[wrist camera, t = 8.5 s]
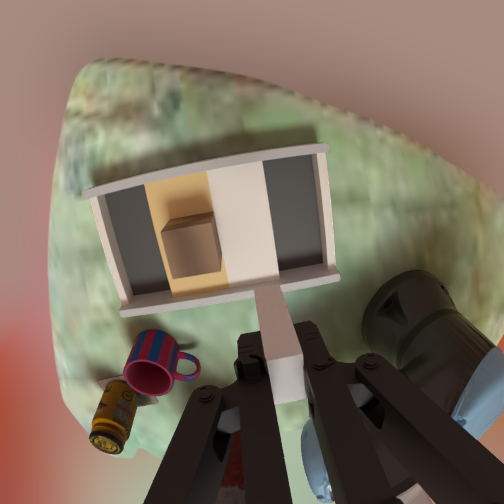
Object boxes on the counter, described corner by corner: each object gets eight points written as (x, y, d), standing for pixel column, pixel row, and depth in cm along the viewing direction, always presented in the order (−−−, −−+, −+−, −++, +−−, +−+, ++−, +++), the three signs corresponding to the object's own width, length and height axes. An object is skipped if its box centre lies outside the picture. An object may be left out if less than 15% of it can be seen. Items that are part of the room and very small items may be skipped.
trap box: (317, 142, 34) (327, 142, 30) (330, 268, 40) (340, 281, 36) (95, 185, 34) (82, 191, 30) (129, 302, 39) (121, 317, 36)
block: (213, 211, 34) (211, 222, 29) (222, 253, 35) (221, 271, 31) (169, 219, 34) (160, 232, 29) (179, 261, 35) (172, 279, 31)
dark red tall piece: (261, 429, 50) (280, 567, 24) (199, 429, 49) (195, 569, 23) (264, 397, 47) (289, 556, 21) (195, 398, 46) (186, 558, 20)
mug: (134, 325, 41) (121, 355, 34) (203, 336, 42) (200, 367, 36) (135, 361, 43) (125, 391, 36) (200, 371, 44) (197, 403, 38)
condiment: (97, 380, 44) (74, 432, 33) (136, 371, 44) (118, 428, 32) (119, 408, 47) (104, 460, 35) (159, 401, 46) (148, 458, 35)
